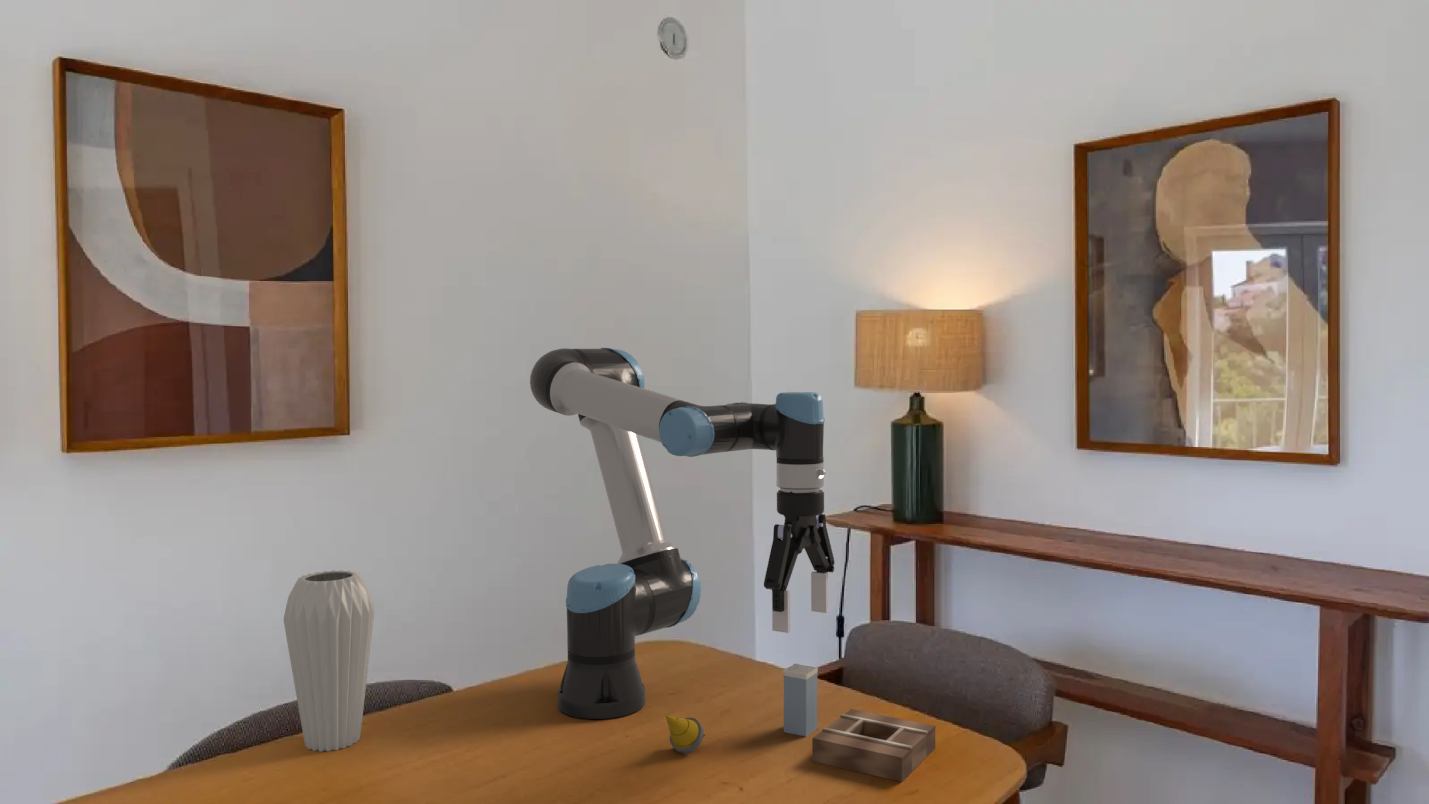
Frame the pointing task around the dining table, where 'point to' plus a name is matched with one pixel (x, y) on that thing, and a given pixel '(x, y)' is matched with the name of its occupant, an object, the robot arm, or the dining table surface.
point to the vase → (330, 655)
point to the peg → (800, 699)
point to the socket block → (874, 744)
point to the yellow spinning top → (685, 733)
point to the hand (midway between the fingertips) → (801, 621)
